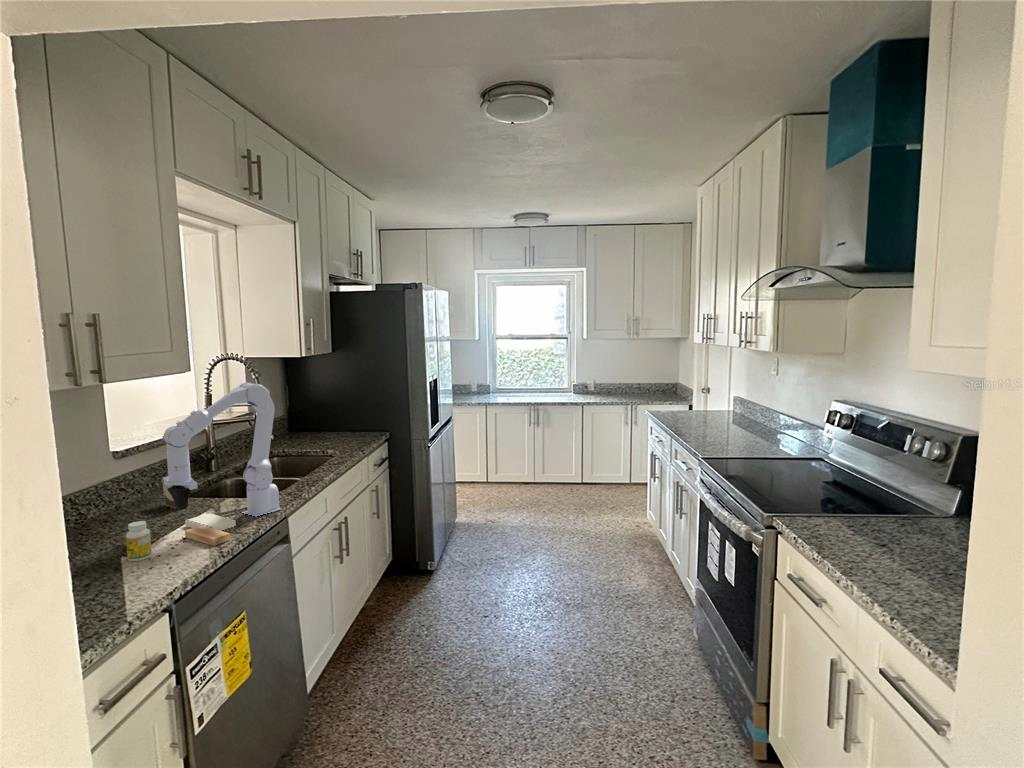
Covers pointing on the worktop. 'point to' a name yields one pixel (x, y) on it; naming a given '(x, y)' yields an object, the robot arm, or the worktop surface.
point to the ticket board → (211, 522)
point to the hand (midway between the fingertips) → (182, 509)
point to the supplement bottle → (138, 541)
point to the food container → (168, 496)
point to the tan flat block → (207, 535)
